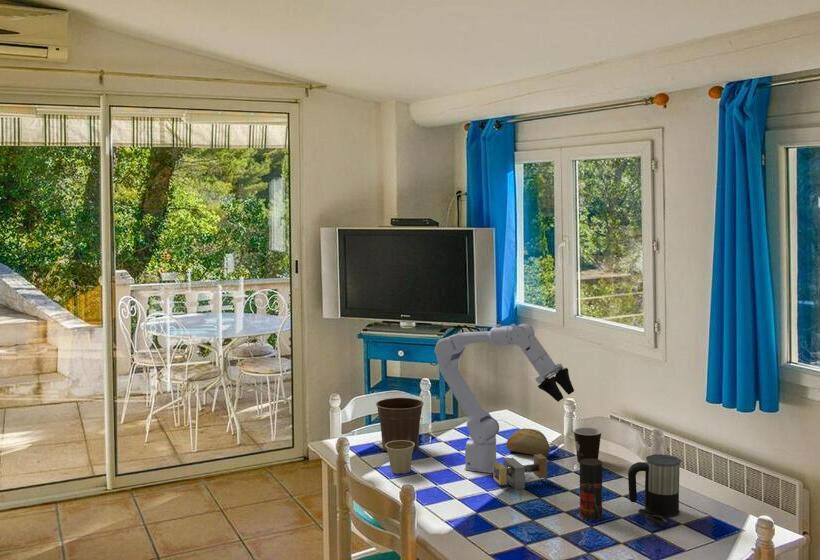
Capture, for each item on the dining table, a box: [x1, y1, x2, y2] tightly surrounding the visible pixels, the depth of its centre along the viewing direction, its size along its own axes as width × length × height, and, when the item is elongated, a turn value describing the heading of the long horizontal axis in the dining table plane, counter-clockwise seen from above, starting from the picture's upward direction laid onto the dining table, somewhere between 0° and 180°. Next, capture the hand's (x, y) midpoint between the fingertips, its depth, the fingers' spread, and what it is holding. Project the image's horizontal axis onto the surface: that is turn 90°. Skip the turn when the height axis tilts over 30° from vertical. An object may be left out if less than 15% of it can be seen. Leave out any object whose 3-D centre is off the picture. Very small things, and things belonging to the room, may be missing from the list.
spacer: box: [492, 461, 508, 486], centre depth 257 cm, size 2×6×5 cm, turn 15°
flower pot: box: [385, 440, 415, 475], centre depth 272 cm, size 9×9×9 cm
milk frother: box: [627, 453, 683, 527], centre depth 230 cm, size 14×16×15 cm
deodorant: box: [579, 458, 603, 521], centre depth 232 cm, size 6×6×15 cm
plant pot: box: [375, 397, 424, 452], centre depth 295 cm, size 16×16×16 cm
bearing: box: [503, 457, 526, 490], centre depth 258 cm, size 3×9×6 cm, turn 15°
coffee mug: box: [573, 427, 602, 464], centre depth 279 cm, size 12×9×10 cm
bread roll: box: [505, 428, 550, 457], centre depth 287 cm, size 10×15×8 cm, turn 62°
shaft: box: [494, 454, 548, 479], centre depth 259 cm, size 16×4×6 cm, turn 105°
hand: (566, 396), depth 257 cm, fingers open, 7 cm apart
